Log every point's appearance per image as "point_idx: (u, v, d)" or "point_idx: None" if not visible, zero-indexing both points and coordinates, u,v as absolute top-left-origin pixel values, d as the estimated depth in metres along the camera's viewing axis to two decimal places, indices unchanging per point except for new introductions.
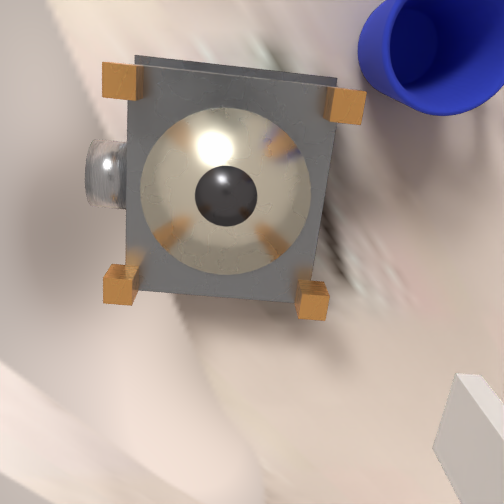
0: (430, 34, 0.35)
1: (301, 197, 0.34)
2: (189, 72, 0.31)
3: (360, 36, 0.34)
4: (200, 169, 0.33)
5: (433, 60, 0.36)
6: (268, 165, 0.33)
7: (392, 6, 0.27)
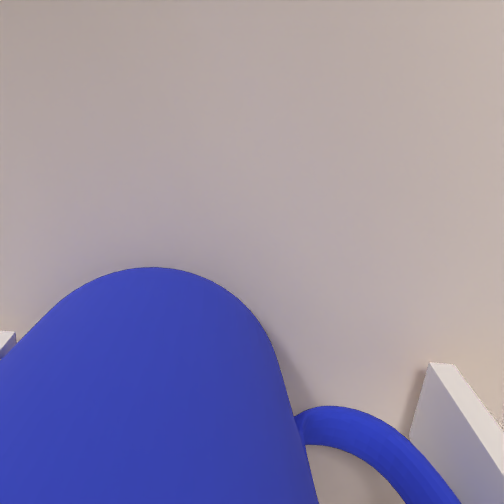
0: None
1: None
2: None
3: None
4: None
5: None
6: None
7: None
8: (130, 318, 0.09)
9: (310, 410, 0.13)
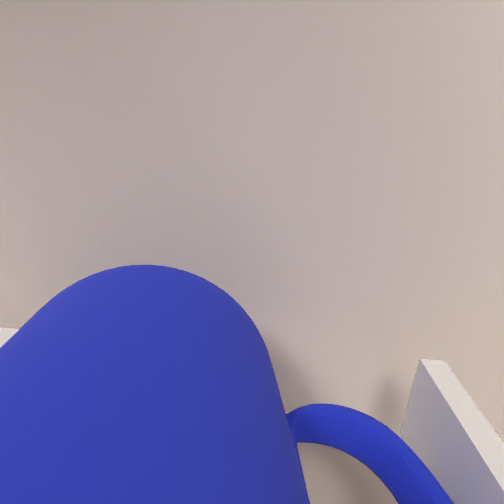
0: None
1: None
2: None
3: None
4: None
5: None
6: None
7: None
8: (121, 315, 0.09)
9: (302, 408, 0.13)
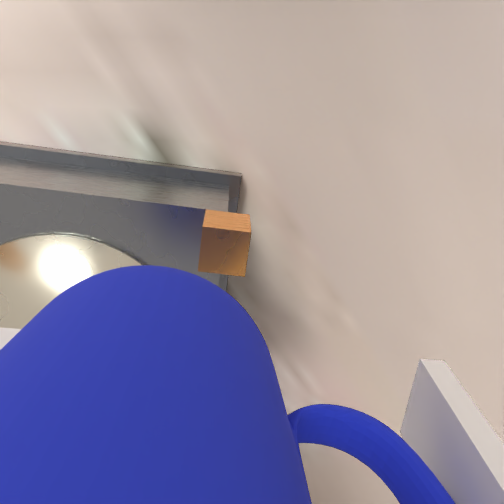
0: None
1: None
2: (0, 185, 0.21)
3: None
4: (28, 315, 0.23)
5: None
6: None
7: None
8: (123, 316, 0.09)
9: (304, 408, 0.13)
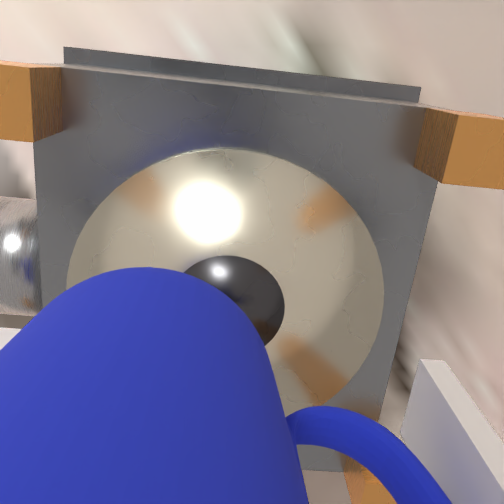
0: None
1: (365, 309, 0.18)
2: (153, 80, 0.15)
3: None
4: (178, 263, 0.17)
5: None
6: (306, 254, 0.18)
7: None
8: (121, 318, 0.09)
9: (302, 410, 0.13)
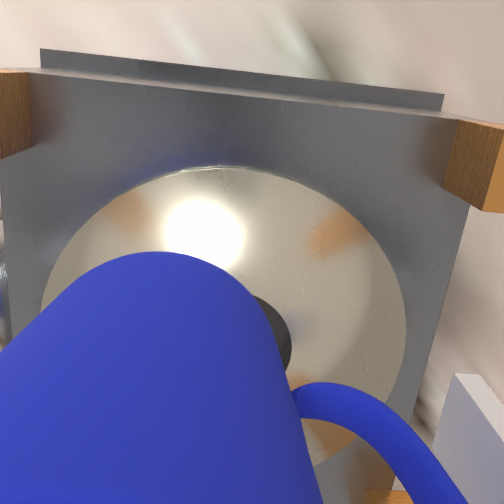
0: None
1: (385, 350, 0.16)
2: (138, 87, 0.13)
3: None
4: None
5: None
6: (317, 288, 0.15)
7: None
8: (142, 292, 0.10)
9: (305, 385, 0.14)
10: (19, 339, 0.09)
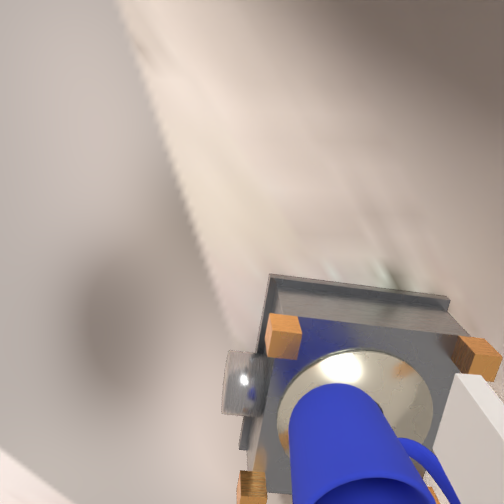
0: None
1: (423, 422, 0.37)
2: (337, 322, 0.34)
3: (290, 423, 0.34)
4: None
5: None
6: (397, 396, 0.36)
7: (305, 502, 0.26)
8: (355, 410, 0.31)
9: None
10: (324, 427, 0.30)
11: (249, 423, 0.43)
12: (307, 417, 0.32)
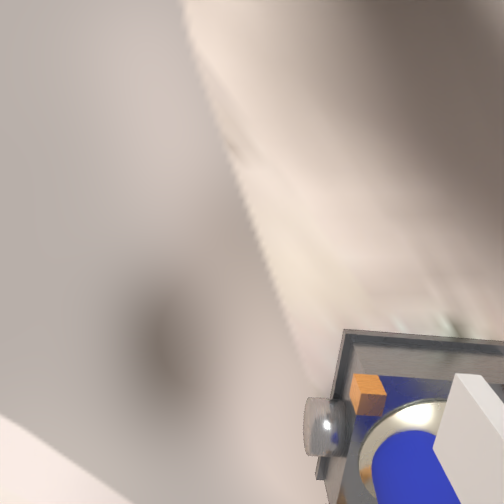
0: None
1: None
2: (413, 378, 0.39)
3: (374, 467, 0.39)
4: None
5: None
6: None
7: None
8: (435, 460, 0.36)
9: None
10: (411, 477, 0.35)
11: (326, 457, 0.48)
12: (392, 465, 0.37)
